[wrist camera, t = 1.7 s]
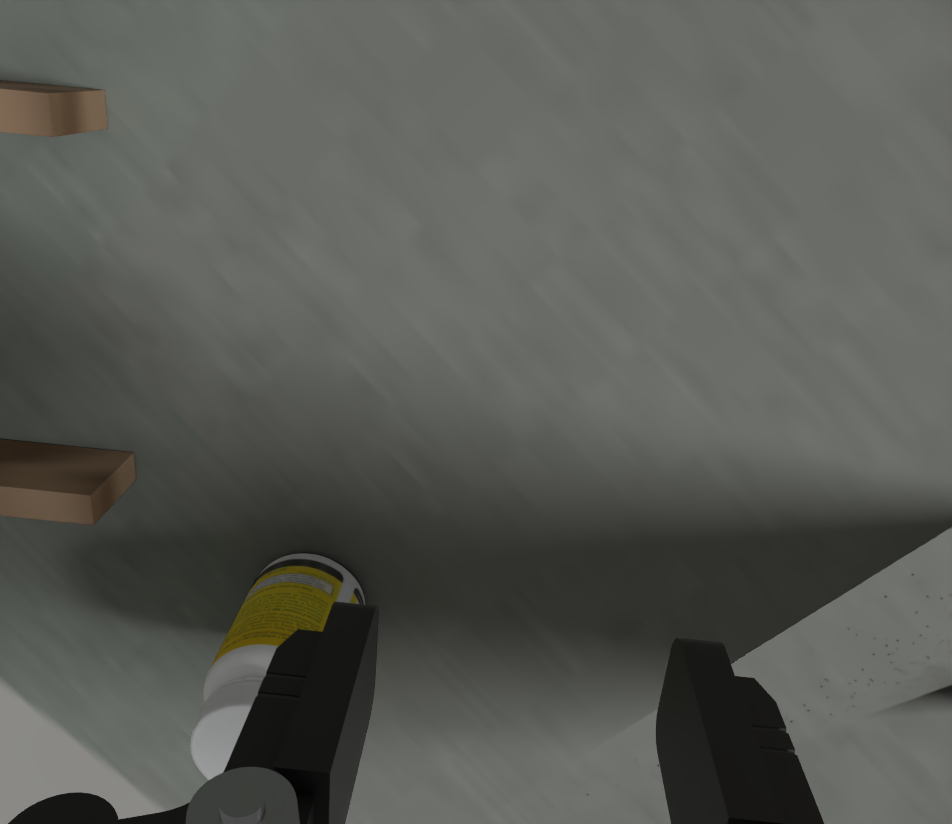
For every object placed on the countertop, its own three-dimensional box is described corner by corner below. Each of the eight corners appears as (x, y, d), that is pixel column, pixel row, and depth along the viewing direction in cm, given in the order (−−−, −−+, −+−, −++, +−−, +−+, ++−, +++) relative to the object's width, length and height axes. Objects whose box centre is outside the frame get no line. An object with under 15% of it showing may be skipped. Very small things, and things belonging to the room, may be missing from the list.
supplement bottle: (230, 584, 34) (145, 734, 27) (318, 530, 33) (255, 671, 25) (303, 663, 36) (243, 827, 28) (390, 613, 35) (352, 771, 27)
